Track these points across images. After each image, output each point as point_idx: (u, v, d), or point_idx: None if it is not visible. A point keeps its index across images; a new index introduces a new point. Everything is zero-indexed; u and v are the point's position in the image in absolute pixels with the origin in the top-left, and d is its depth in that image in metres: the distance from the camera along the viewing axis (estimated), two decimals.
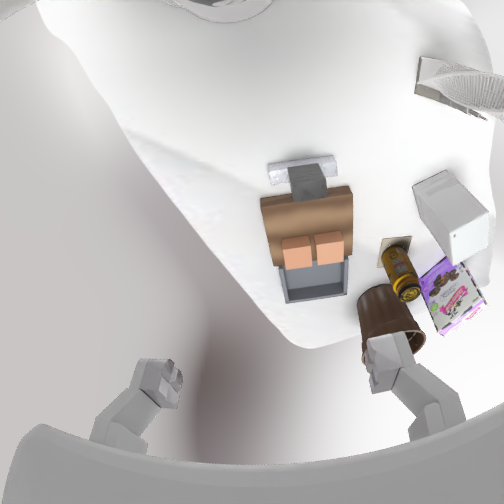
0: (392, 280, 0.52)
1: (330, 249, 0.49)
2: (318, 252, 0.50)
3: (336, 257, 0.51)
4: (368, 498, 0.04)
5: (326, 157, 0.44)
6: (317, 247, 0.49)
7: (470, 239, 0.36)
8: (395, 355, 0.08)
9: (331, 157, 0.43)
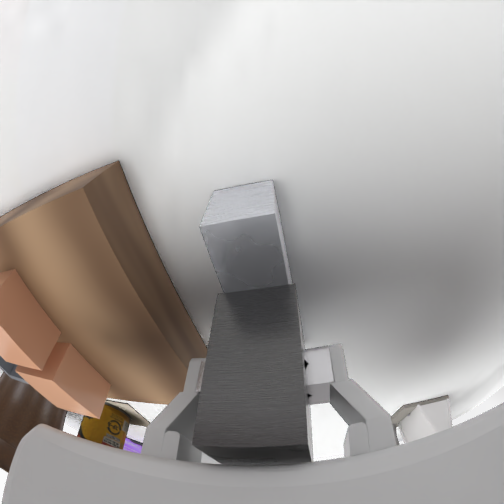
0: None
1: (63, 398, 0.13)
2: (40, 379, 0.12)
3: (55, 401, 0.14)
4: (368, 498, 0.04)
5: None
6: (49, 381, 0.12)
7: None
8: (327, 368, 0.09)
9: None
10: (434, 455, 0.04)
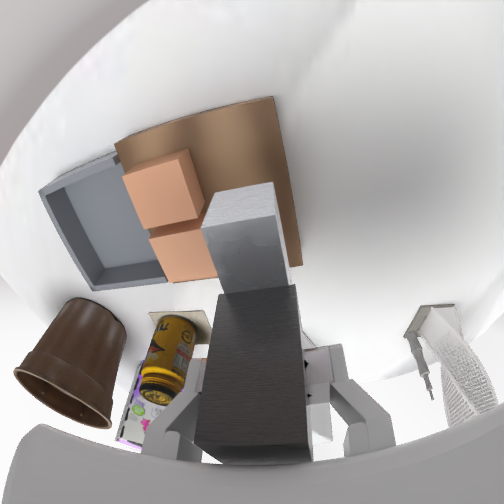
0: (159, 360, 0.31)
1: (193, 257, 0.24)
2: (182, 235, 0.23)
3: (176, 269, 0.25)
4: (368, 498, 0.04)
5: None
6: (195, 232, 0.23)
7: None
8: (327, 369, 0.09)
9: None
10: (434, 455, 0.04)
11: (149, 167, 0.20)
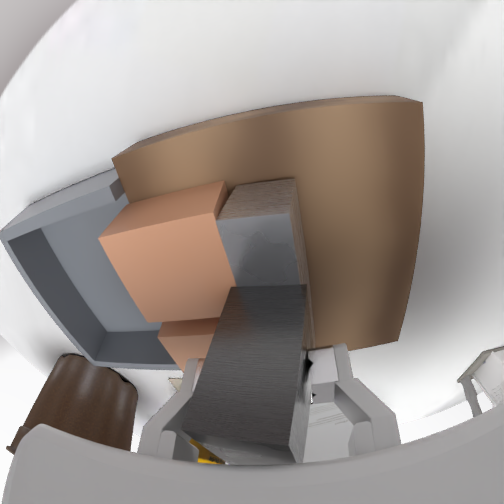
0: None
1: None
2: None
3: None
4: (368, 498, 0.04)
5: (313, 342, 0.16)
6: None
7: None
8: (331, 368, 0.09)
9: None
10: (434, 455, 0.04)
11: (150, 225, 0.10)
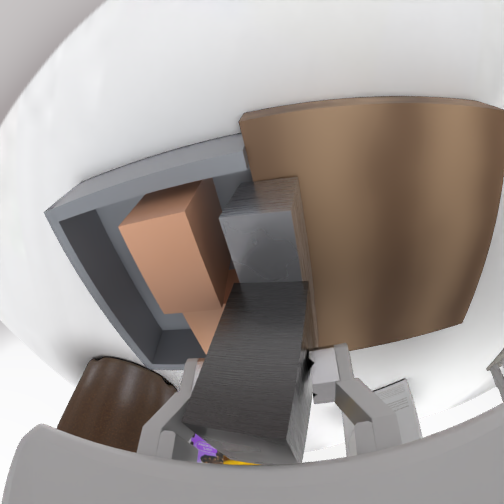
0: None
1: None
2: None
3: None
4: (368, 498, 0.04)
5: (316, 340, 0.16)
6: None
7: None
8: (332, 368, 0.09)
9: None
10: (434, 455, 0.04)
11: (142, 200, 0.12)
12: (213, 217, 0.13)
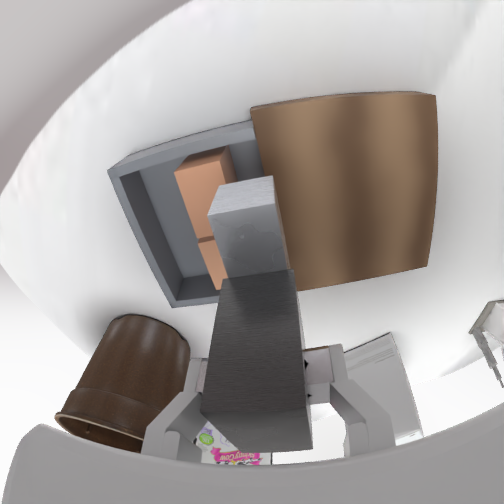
0: None
1: None
2: None
3: (226, 275, 0.24)
4: (368, 498, 0.04)
5: None
6: None
7: None
8: (326, 369, 0.09)
9: None
10: (434, 455, 0.04)
11: (184, 161, 0.19)
12: (231, 173, 0.20)
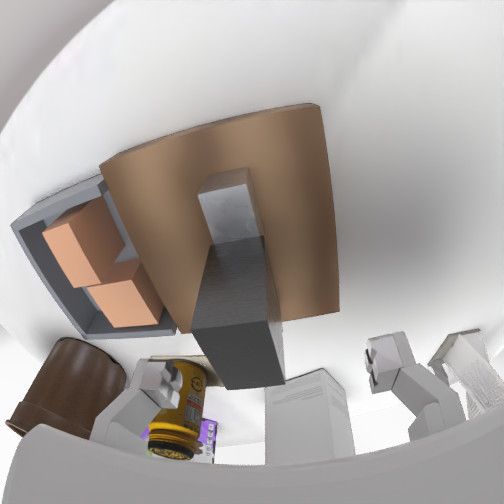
0: (169, 415, 0.25)
1: (130, 305, 0.22)
2: (115, 285, 0.21)
3: (117, 316, 0.23)
4: (368, 498, 0.04)
5: None
6: (126, 282, 0.20)
7: None
8: (394, 355, 0.08)
9: (280, 307, 0.21)
10: (434, 455, 0.04)
11: (60, 216, 0.18)
12: (100, 225, 0.19)
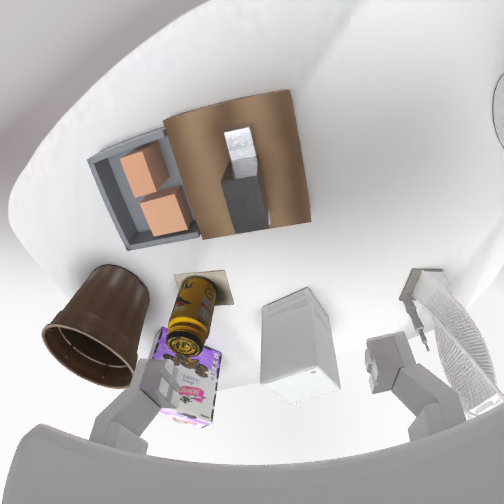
0: (186, 311, 0.37)
1: (170, 215, 0.34)
2: (162, 199, 0.33)
3: (158, 225, 0.35)
4: (368, 498, 0.04)
5: (268, 205, 0.32)
6: (170, 196, 0.32)
7: (305, 387, 0.35)
8: (394, 355, 0.08)
9: (270, 212, 0.33)
10: (434, 455, 0.04)
11: (129, 152, 0.30)
12: (157, 158, 0.31)
